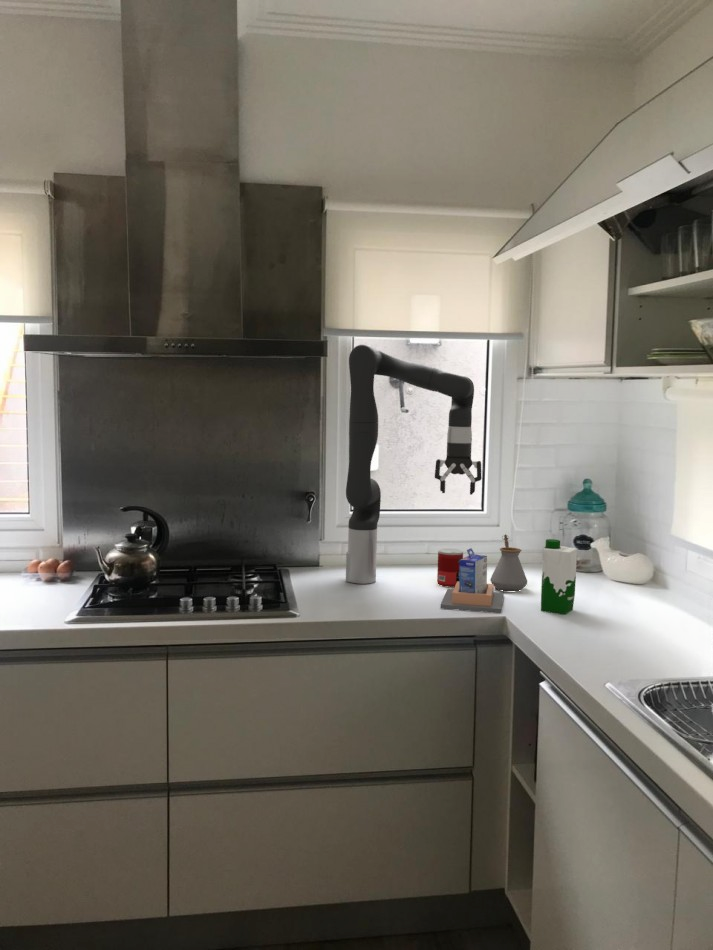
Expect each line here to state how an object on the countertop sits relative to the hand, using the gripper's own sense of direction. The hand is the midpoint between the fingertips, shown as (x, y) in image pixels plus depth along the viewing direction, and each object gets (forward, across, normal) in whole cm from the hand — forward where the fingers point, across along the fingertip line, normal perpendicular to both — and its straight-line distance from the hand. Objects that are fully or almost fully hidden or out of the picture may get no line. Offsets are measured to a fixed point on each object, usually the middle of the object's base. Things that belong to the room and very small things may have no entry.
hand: (457, 493), depth 258 cm
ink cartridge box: (+29, +7, -15) cm, 33 cm away
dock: (+30, +7, -15) cm, 34 cm away
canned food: (+30, -2, +6) cm, 31 cm away
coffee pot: (+30, +16, +10) cm, 36 cm away
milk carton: (+30, +31, -17) cm, 47 cm away
